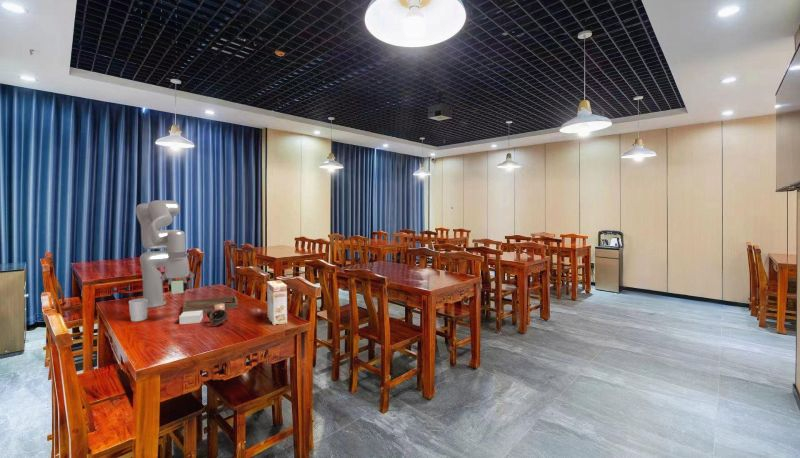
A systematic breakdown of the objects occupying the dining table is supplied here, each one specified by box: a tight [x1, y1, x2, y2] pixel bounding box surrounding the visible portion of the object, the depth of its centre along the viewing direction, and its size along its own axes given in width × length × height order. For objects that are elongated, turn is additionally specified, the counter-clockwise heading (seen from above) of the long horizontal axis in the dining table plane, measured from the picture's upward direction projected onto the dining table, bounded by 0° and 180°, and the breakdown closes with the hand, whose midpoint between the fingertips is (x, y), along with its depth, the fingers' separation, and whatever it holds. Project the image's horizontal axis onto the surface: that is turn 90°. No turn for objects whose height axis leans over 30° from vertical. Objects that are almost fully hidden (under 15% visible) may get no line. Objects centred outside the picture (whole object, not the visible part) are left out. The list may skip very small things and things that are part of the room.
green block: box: [170, 278, 185, 295], centre depth 180 cm, size 5×5×6 cm
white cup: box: [128, 298, 149, 322], centre depth 184 cm, size 8×8×10 cm
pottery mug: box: [206, 309, 229, 328], centre depth 178 cm, size 12×10×8 cm
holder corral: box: [182, 295, 239, 314], centre depth 206 cm, size 17×27×4 cm, turn 118°
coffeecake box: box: [266, 279, 288, 326], centre depth 184 cm, size 15×7×20 cm, turn 31°
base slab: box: [179, 310, 204, 325], centre depth 183 cm, size 9×9×4 cm
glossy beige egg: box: [213, 303, 226, 314], centre depth 195 cm, size 5×5×5 cm
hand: (178, 290), depth 180 cm, fingers closed on green block, 5 cm apart
